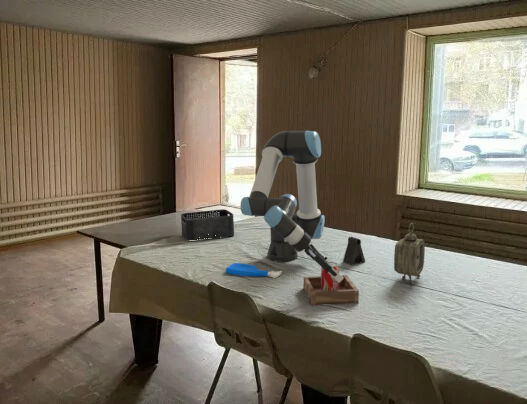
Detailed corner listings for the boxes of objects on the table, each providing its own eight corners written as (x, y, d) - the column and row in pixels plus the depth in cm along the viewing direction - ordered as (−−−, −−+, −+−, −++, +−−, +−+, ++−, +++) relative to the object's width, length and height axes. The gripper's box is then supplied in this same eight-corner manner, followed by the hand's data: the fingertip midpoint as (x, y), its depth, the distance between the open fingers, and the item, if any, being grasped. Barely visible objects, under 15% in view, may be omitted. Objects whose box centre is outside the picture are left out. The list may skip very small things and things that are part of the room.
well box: (303, 288, 202) (303, 276, 201) (346, 286, 203) (346, 274, 202) (311, 305, 184) (311, 292, 183) (358, 303, 185) (358, 290, 184)
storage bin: (187, 242, 277) (186, 219, 274) (180, 234, 295) (179, 213, 292) (235, 237, 287) (235, 214, 285) (226, 230, 305) (225, 208, 302)
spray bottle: (224, 268, 221) (274, 275, 212) (234, 261, 231) (283, 267, 222) (224, 275, 221) (275, 281, 212) (234, 267, 231) (283, 274, 222)
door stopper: (350, 265, 231) (351, 240, 228) (342, 262, 236) (342, 237, 234) (365, 262, 235) (365, 238, 233) (357, 259, 240) (357, 235, 238)
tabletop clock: (414, 287, 201) (416, 227, 196) (392, 283, 206) (394, 225, 201) (423, 276, 213) (425, 220, 208) (402, 273, 218) (404, 218, 213)
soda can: (327, 297, 188) (327, 268, 186) (317, 291, 195) (317, 263, 192) (342, 294, 192) (343, 265, 189) (332, 288, 198) (332, 260, 195)
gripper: (287, 238, 198) (326, 274, 203) (295, 252, 178) (338, 292, 182) (300, 225, 198) (339, 261, 202) (309, 238, 178) (352, 278, 182)
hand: (338, 276), depth 192 cm, fingers open, 8 cm apart
